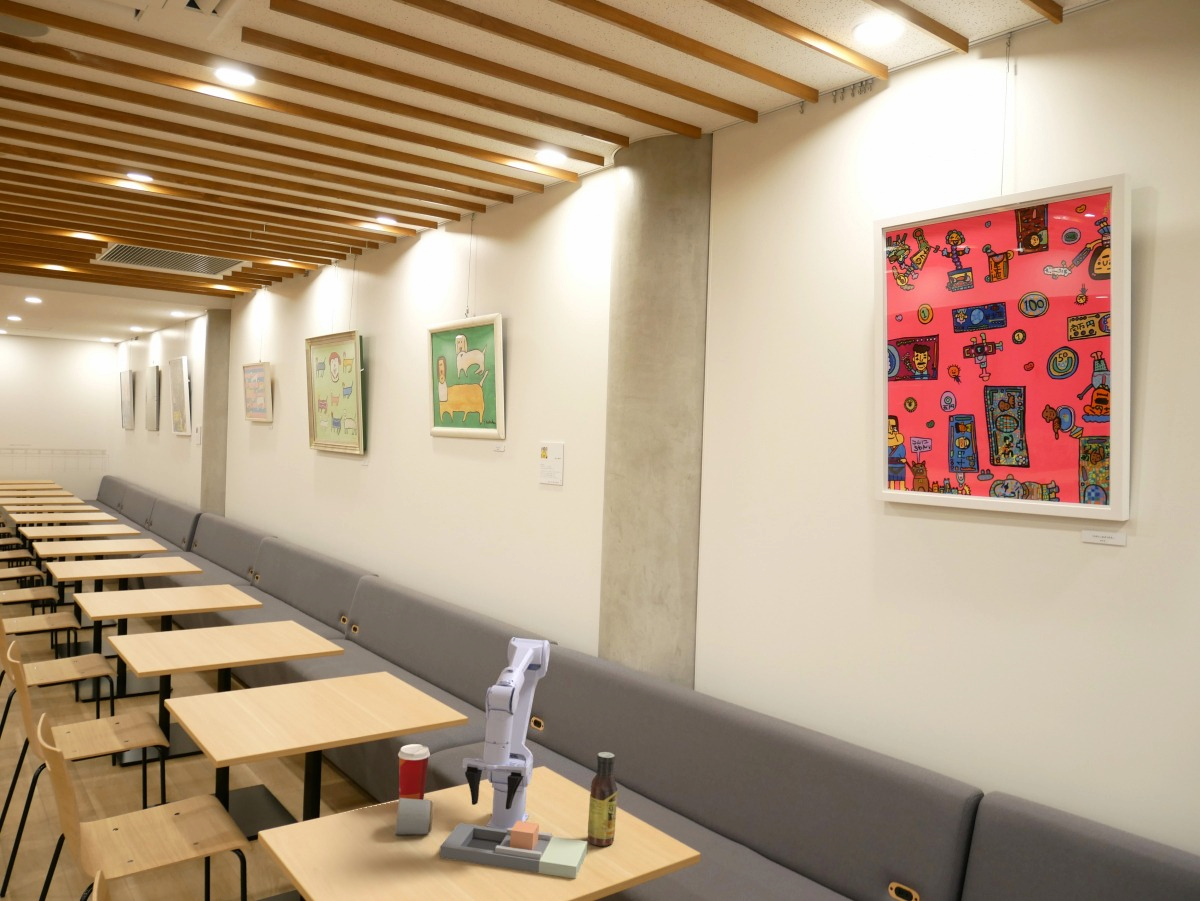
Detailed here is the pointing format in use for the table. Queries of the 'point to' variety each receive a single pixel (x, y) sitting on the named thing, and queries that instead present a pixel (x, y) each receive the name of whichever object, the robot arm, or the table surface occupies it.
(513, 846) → the terracotta block
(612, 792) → the sauce bottle
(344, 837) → the table surface
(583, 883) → the table surface
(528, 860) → the tunnel deck
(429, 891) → the table surface
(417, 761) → the paper cup
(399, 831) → the grey rounded cube
